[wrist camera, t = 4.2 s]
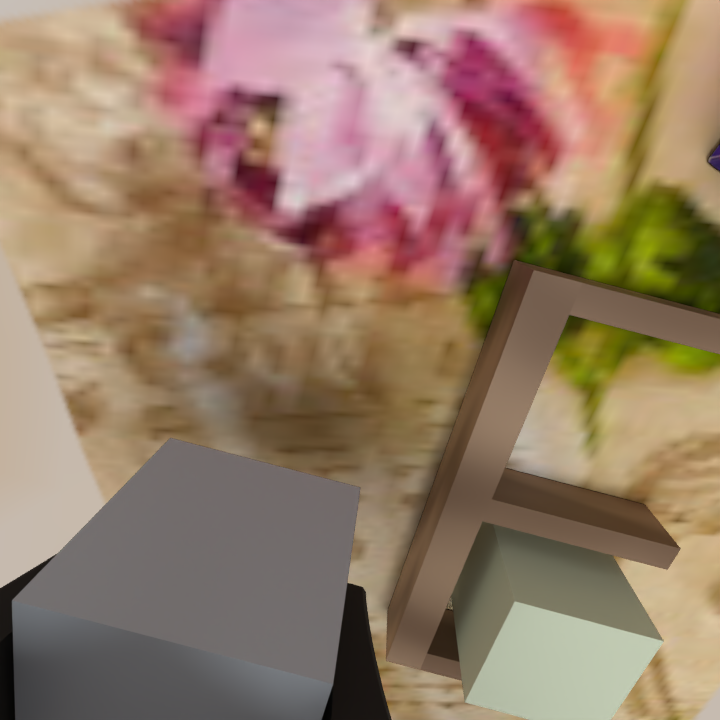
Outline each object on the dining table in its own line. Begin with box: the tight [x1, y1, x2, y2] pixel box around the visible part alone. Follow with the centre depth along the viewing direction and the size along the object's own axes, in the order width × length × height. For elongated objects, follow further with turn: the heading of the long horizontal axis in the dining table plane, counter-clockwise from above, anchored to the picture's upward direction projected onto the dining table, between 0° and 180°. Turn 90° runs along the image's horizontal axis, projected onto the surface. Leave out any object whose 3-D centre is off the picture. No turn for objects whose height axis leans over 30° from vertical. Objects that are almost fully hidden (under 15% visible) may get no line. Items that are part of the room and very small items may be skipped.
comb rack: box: [386, 260, 720, 680], centre depth 18 cm, size 17×8×2 cm, turn 166°
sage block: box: [451, 521, 664, 720], centre depth 18 cm, size 5×5×5 cm
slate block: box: [12, 438, 360, 720], centre depth 10 cm, size 5×5×5 cm
